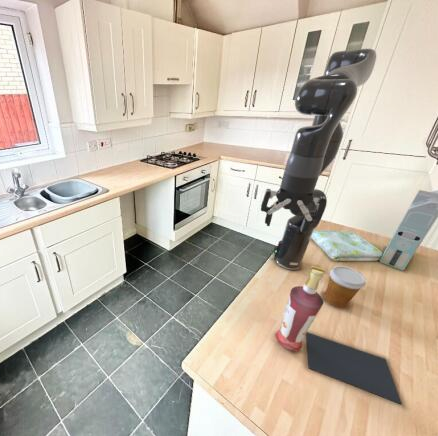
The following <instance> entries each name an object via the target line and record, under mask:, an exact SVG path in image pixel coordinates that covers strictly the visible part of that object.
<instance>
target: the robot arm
mask: <svg viewBox="0 0 438 436" xmlns="http://www.w3.org/2000/svg"><path fill="white" fill-rule="evenodd" d="M376 61H377V52H376V51H375V49H372V48H359V49H358V48H357V49H349V50H339V51H335V52H333V53H332V54H331V55H330V57H329V58H328V60H327V63H326V66H325V69H324V74H323V75H319V76H316V77H313V78H310V79H309V80H307V81H306V82H305V83H303V84H302V86H301V87H300V88H299V90H298V91H297V93H296V95H295V98H294V107H295V108H294V109H295V110H296V111H297V112H298V113H299V114H301V115H304V116H314V117H313V120H312V124H311V125H309V126H302V127H300V128H298V129H297V130H296V133H295V135H294V139H293V142H292V146H291V150H290V152H289V155H288V157H287V160H286V164H285V167H284V171H283V175H282V177H281V178H282V179H281V182H280V186H279V189H278V190H271V188H266V190H265V191H264V196H263V199H262V202H261V205H260V211H261V212H264V213H266V215H265V218H264V224H265V225H266V227H270V226H271V222H272V219H273V214H274V213H275V212H278V211H279V210H281V209H282V208H283V209H284V210H289V212H290V214H291V215H293V216H291V217H290V218H288V219H287V221H286V225H285V228H284V232H283V234H282V237H281V240H279V241H278V244H277V245H276V246H274V248H273V251H272V252H273V254H274V256H273V260H274V261H275V262H276V264H277V265H278V266H279V267H281V268H283V269H285V270H289V271H296V270H300V269H301V266H302V262H303V260H304V258H305V254H306V252H307V249H308V247H309V244H310V241H311V239H312V238H311V236H312V233H313V232H314V231H315V229H316V228H317V227H318V226H319V224H320V222H321V220H322V217H323V216H324V213H325V211H326V208H327V203H328V200H327V199H328V197H327V196H326V193H325V192H324V191H323V190H321V189H318V188H317V189H316V186H317V183H318V181H319V178H320V176H321V175H322V174H323V173H324V172H325V171H326V169H327V168H328V167H329V166H330V165H331V164H332V163H333V161H334V160H335V159H336V157H337V155H338V153H339V149H340V147H341V143H342V141H343V138H344V130H343V125H342V123H341V120H342V118H343V117H344V116H345V114H346V113H347V112H348V110H350V108H351V106H352V104H353V103H354V101H355V100H356V97H357V95H358V88H359V87H361V86H363V85H364V84H366V83H367V82H368V80H369V79H370V77H371V75H372V73H373V70H374V68H375V65H376ZM273 197H276V199H277V200H275V202H273V203H272V204H271V205H270V206H268V205H269V200H271V199H273Z"/></svg>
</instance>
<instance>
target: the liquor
mask: <svg viewBox="0 0 438 436" xmlns="http://www.w3.org/2000/svg"><path fill="white" fill-rule="evenodd" d="M324 274H325V269H324V268H323V267H322V266H319V265H312V266H311V267H310V270H309V274H308V278H307V280H306V282H305V283H304V285H303V286H300V285H298V286H297V285H296V286H294V287H292V288H291V289H290V292H289V296H288V299H287V302H286V305H285V310H284V313H283V316H282V321H281V324H280V326H279V329H278V330H277V331H276V332H275V338H276V340H277V342H278V343H279V344H280V345H281V346H282V347H284V348H285V349H287V350H290V351H293V352H294V351H300V350H301V349H302V347H303V341H304V339H305V338H306V333H307V332H309V330H310V328H311V326H312V325H313V322H314V321H315V320H316V318H317V316H318V315H319V312H320V310H321V309H322V307H323V305H324V299H323V297H322V296H321V295H320V294H319V293H318V292H317V291H318V287H319V283H320V281H321V280H322V278H323V276H324Z"/></svg>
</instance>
